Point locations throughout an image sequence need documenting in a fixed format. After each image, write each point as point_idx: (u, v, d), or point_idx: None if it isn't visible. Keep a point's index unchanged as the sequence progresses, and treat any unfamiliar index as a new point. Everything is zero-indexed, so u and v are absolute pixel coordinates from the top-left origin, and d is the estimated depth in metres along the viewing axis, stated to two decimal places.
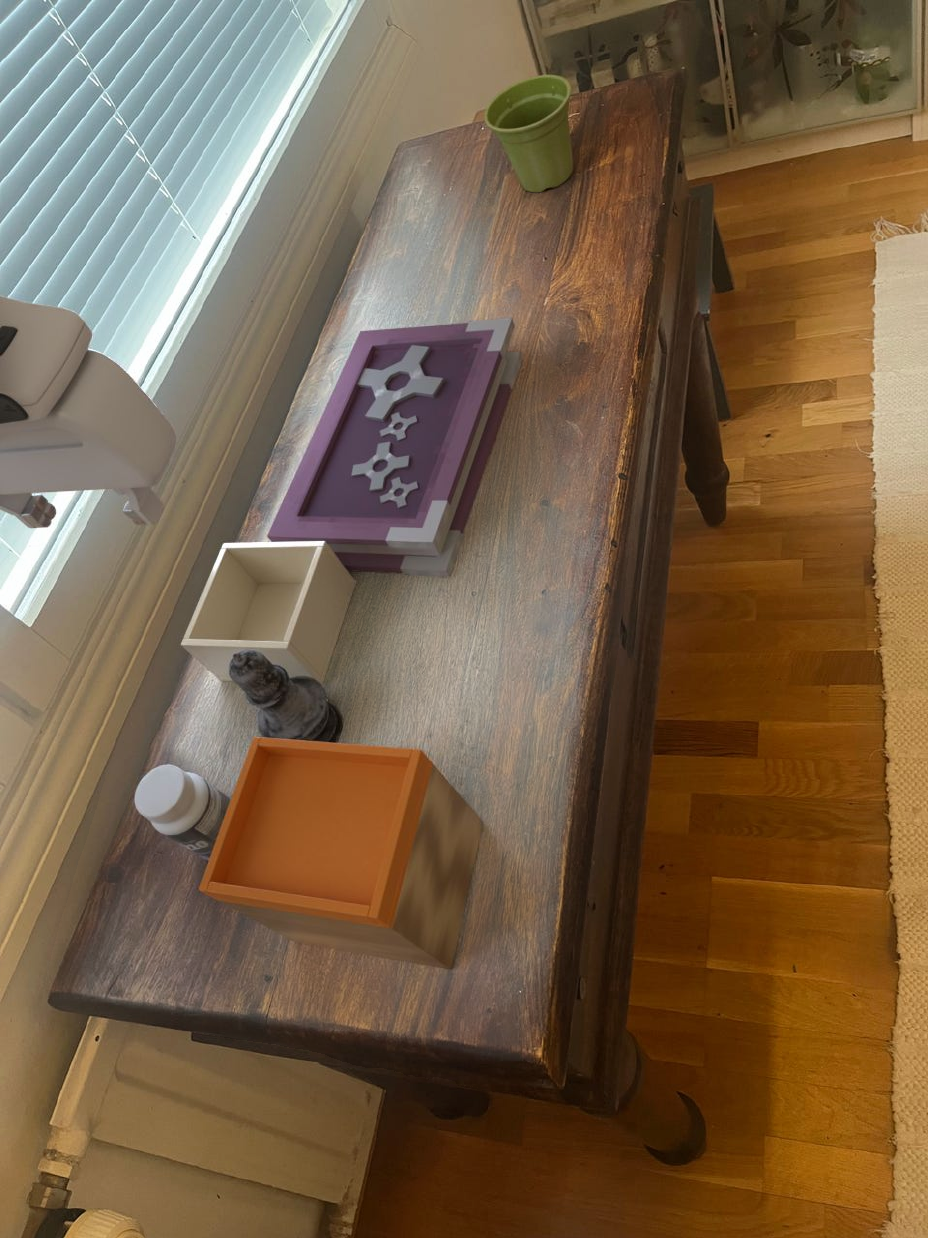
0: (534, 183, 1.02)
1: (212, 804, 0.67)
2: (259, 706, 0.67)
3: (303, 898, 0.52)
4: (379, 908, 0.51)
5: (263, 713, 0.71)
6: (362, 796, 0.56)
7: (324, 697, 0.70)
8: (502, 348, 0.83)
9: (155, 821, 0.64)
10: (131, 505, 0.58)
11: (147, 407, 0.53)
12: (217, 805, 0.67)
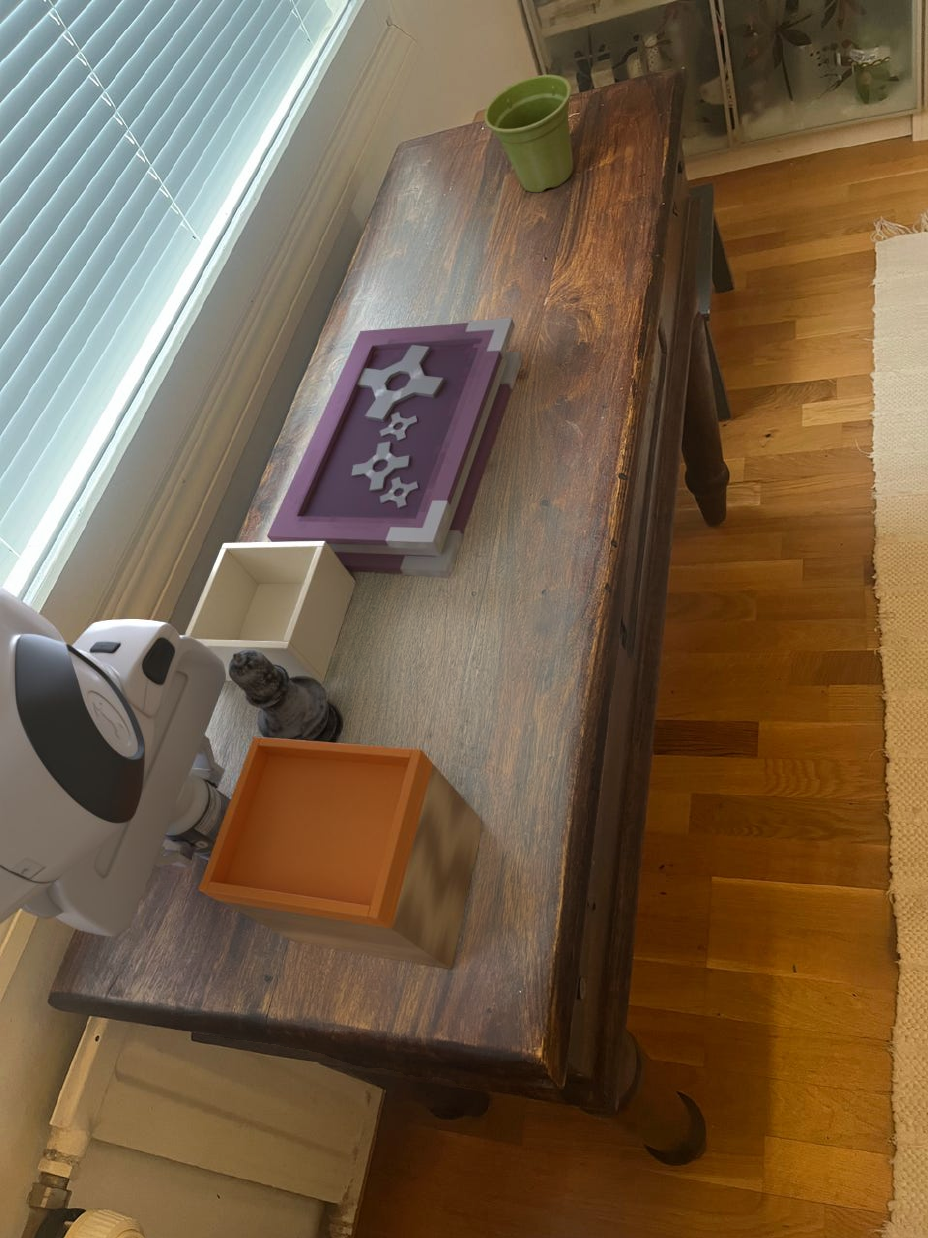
0: (534, 183, 1.02)
1: (212, 804, 0.67)
2: (259, 706, 0.67)
3: (303, 898, 0.52)
4: (379, 908, 0.51)
5: (263, 713, 0.71)
6: (362, 796, 0.56)
7: (324, 697, 0.70)
8: (502, 348, 0.83)
9: None
10: (210, 760, 0.68)
11: None
12: (217, 805, 0.67)
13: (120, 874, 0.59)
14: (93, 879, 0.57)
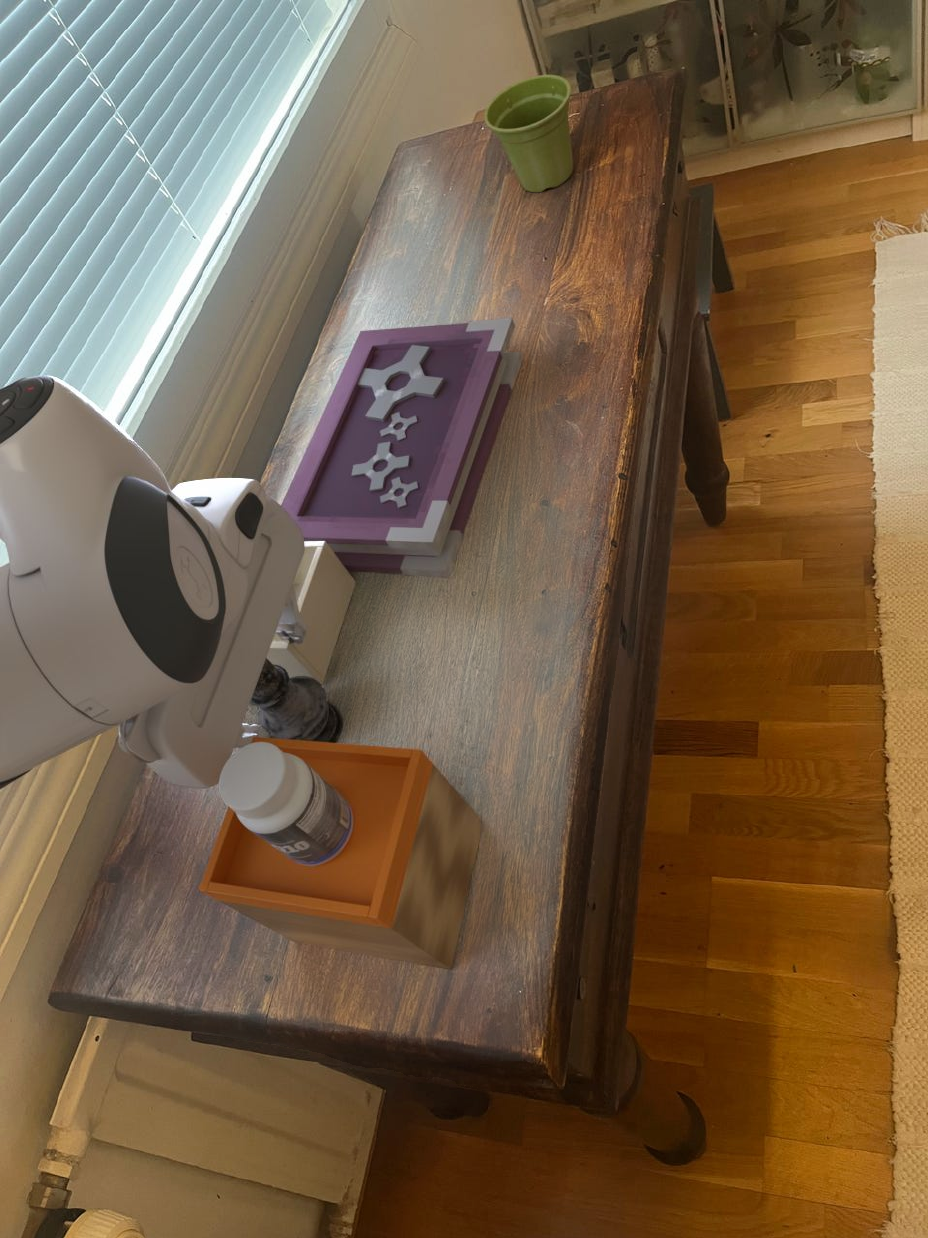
0: (533, 183, 1.02)
1: (317, 793, 0.51)
2: (259, 706, 0.67)
3: (303, 898, 0.52)
4: (379, 908, 0.51)
5: (263, 713, 0.71)
6: (362, 796, 0.56)
7: (324, 697, 0.70)
8: (502, 348, 0.83)
9: (247, 815, 0.49)
10: (295, 614, 0.69)
11: None
12: (322, 795, 0.52)
13: (213, 726, 0.59)
14: (189, 726, 0.57)
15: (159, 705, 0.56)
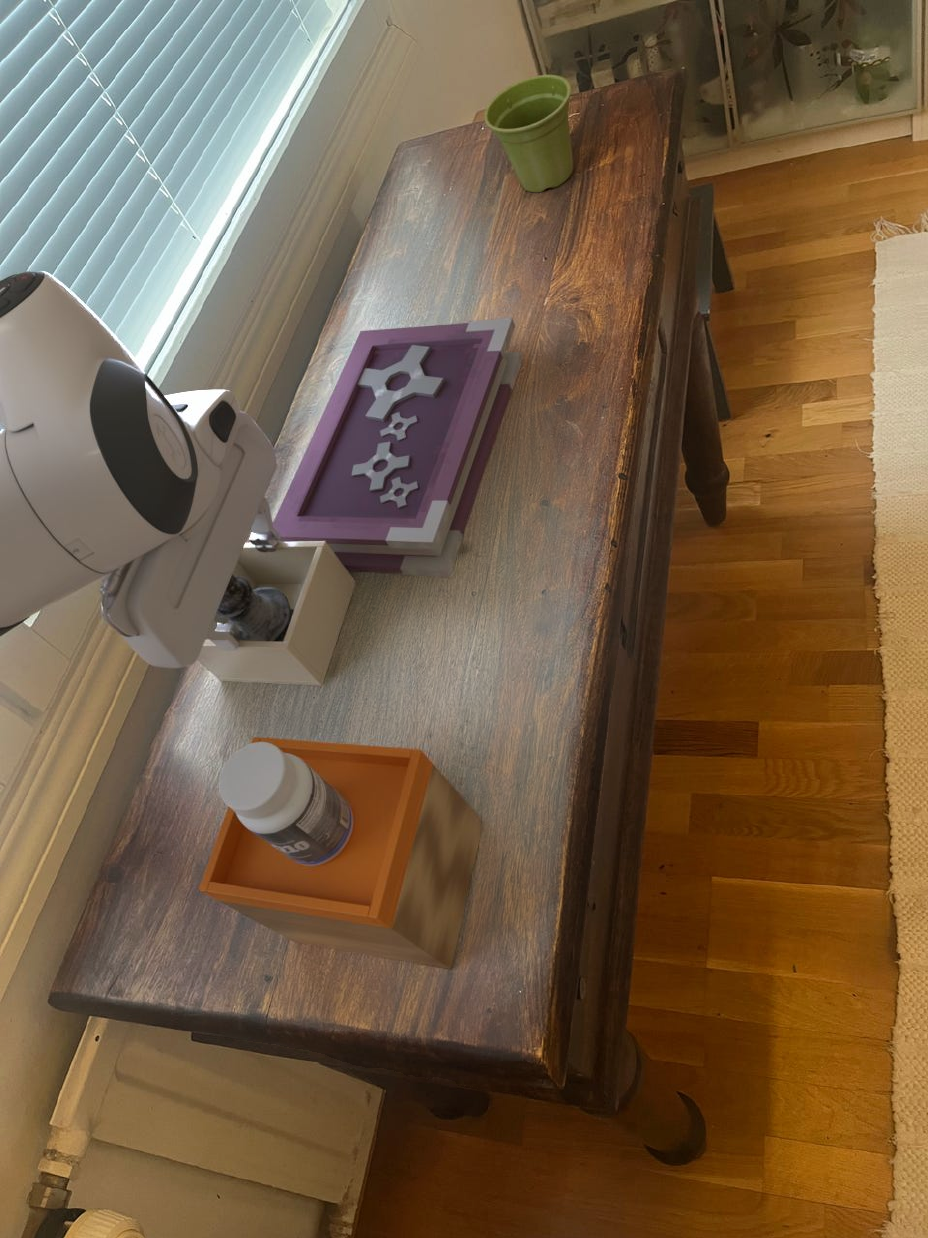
0: (533, 183, 1.02)
1: (317, 793, 0.51)
2: (225, 616, 0.72)
3: (303, 898, 0.52)
4: (379, 908, 0.51)
5: None
6: (362, 796, 0.56)
7: (287, 605, 0.75)
8: (502, 348, 0.83)
9: (247, 815, 0.49)
10: (269, 522, 0.76)
11: None
12: (322, 795, 0.52)
13: (188, 609, 0.65)
14: (165, 606, 0.63)
15: (138, 583, 0.62)
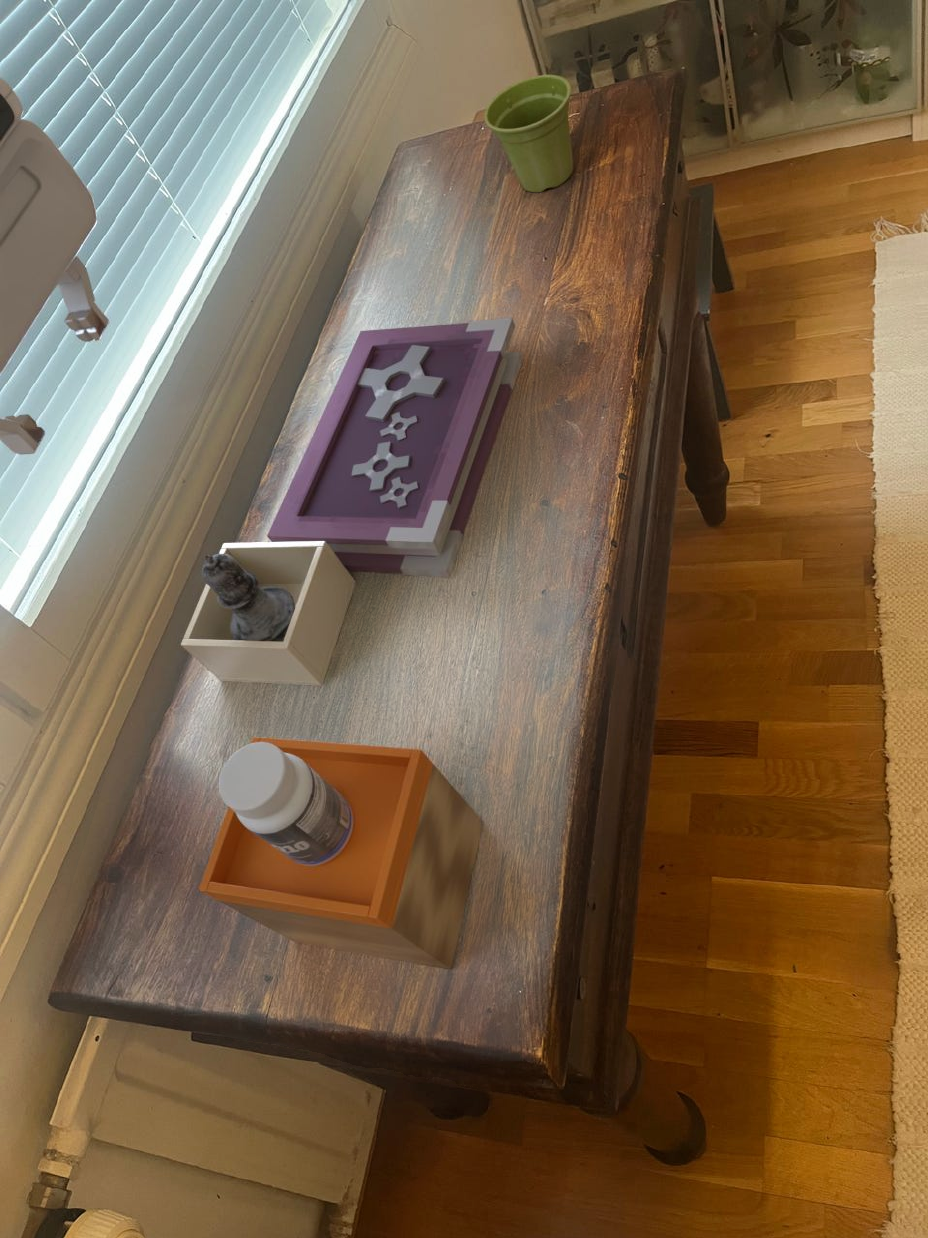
0: (534, 183, 1.02)
1: (317, 793, 0.51)
2: (230, 607, 0.73)
3: (303, 898, 0.52)
4: (379, 908, 0.51)
5: (235, 619, 0.77)
6: (362, 796, 0.56)
7: (292, 603, 0.76)
8: (502, 348, 0.83)
9: (247, 815, 0.49)
10: (88, 296, 0.58)
11: None
12: (322, 795, 0.52)
13: None
14: None
15: None
